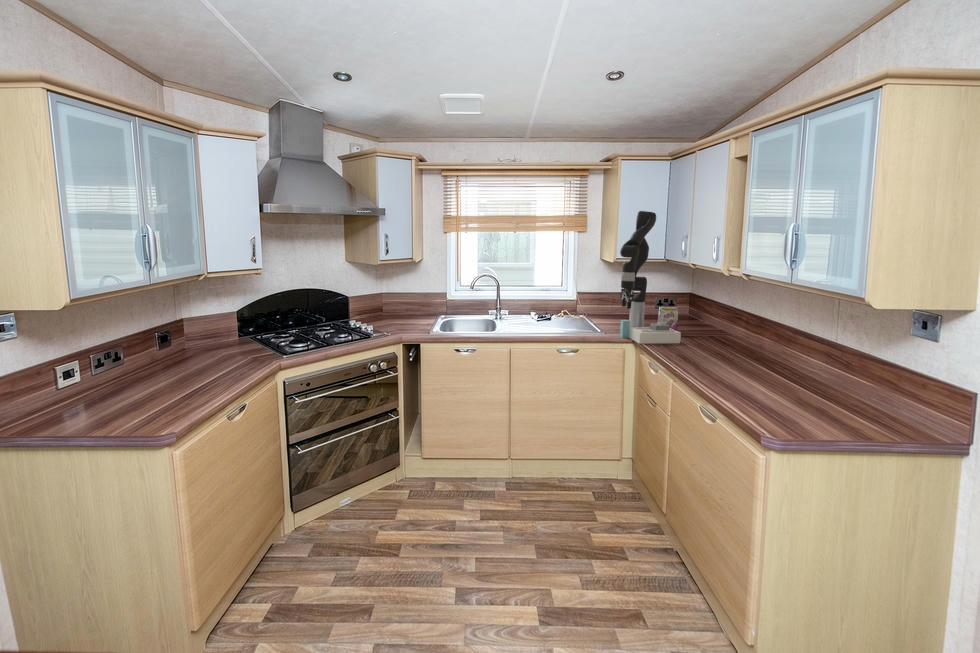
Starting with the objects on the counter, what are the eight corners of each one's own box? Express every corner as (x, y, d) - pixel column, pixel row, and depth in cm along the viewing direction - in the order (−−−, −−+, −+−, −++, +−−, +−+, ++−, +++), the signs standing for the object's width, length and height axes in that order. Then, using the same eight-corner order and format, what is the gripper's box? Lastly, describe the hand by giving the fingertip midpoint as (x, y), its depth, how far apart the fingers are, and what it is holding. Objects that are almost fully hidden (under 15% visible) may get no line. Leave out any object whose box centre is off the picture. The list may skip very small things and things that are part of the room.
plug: (619, 336, 310) (620, 319, 308) (626, 336, 310) (627, 319, 309) (622, 337, 306) (623, 321, 304) (628, 337, 306) (629, 321, 305)
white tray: (628, 337, 306) (629, 326, 305) (667, 337, 309) (668, 326, 308) (639, 343, 291) (640, 331, 290) (680, 343, 293) (681, 331, 292)
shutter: (650, 328, 303) (650, 321, 302) (663, 328, 303) (663, 321, 303) (655, 331, 295) (656, 324, 294) (669, 330, 296) (669, 324, 295)
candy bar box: (658, 334, 319) (660, 307, 316) (656, 332, 324) (658, 306, 321) (677, 334, 318) (679, 308, 315) (675, 333, 323) (677, 307, 320)
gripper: (638, 281, 295) (637, 309, 298) (629, 278, 309) (627, 305, 312) (626, 281, 295) (624, 309, 298) (617, 278, 309) (615, 305, 311)
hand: (626, 307), depth 305 cm, fingers open, 8 cm apart
